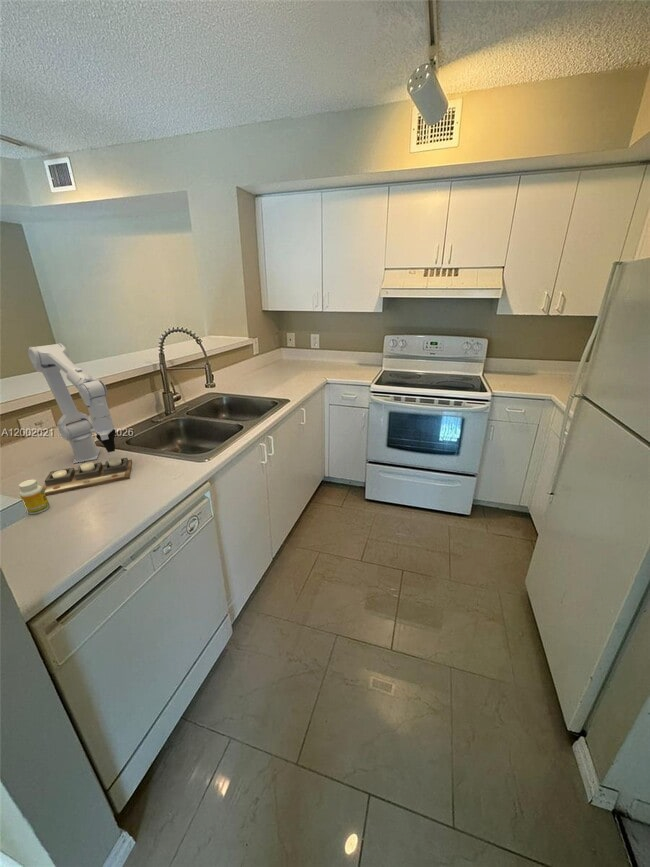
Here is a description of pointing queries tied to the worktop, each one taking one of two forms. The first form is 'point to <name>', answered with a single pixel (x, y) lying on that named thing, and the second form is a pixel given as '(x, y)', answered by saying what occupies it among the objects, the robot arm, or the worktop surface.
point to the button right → (115, 462)
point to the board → (87, 477)
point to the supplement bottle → (33, 496)
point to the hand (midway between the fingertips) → (111, 451)
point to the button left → (59, 473)
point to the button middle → (87, 467)
